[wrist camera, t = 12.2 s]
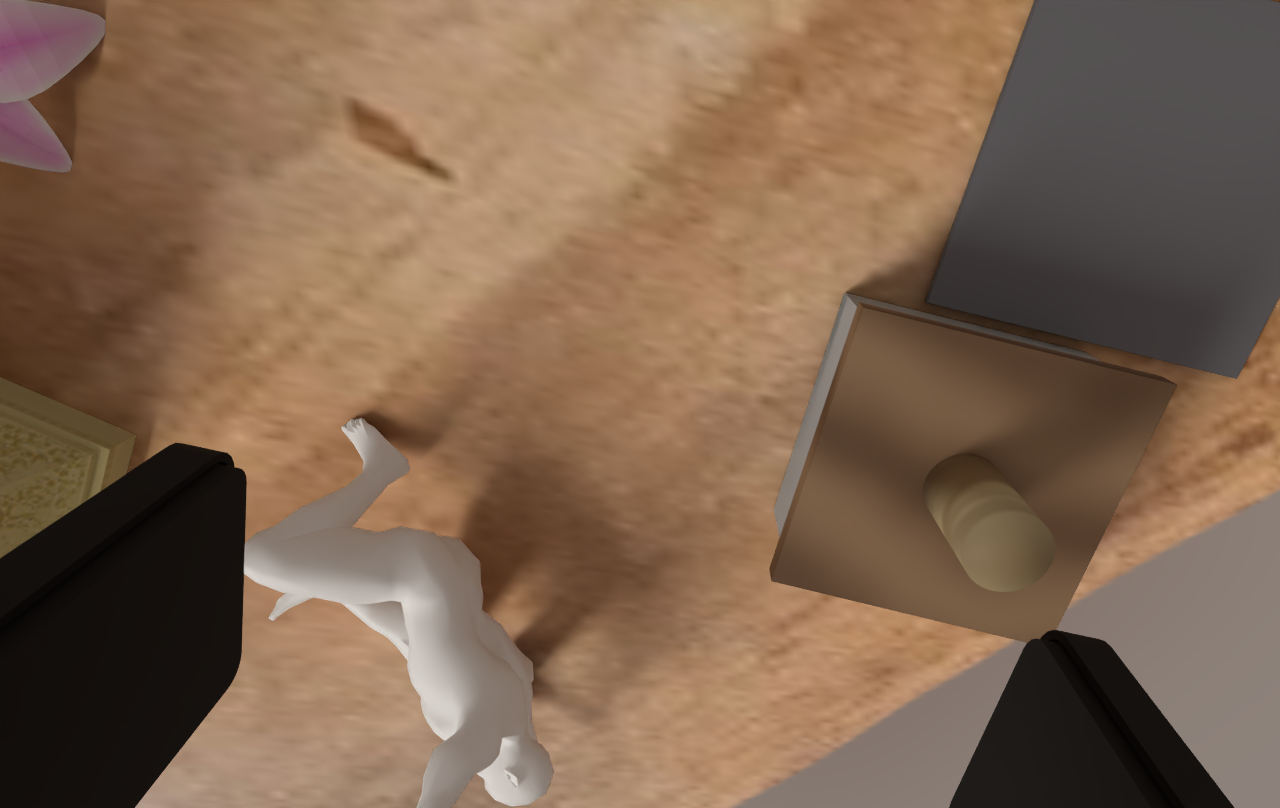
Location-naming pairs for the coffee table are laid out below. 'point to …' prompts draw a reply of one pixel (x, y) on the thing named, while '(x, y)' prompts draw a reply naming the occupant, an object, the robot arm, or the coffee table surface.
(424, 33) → the coffee table surface
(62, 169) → the lily
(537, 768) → the person figurine
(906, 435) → the lid
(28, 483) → the decorative clock
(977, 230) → the mat
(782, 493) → the grey square box
